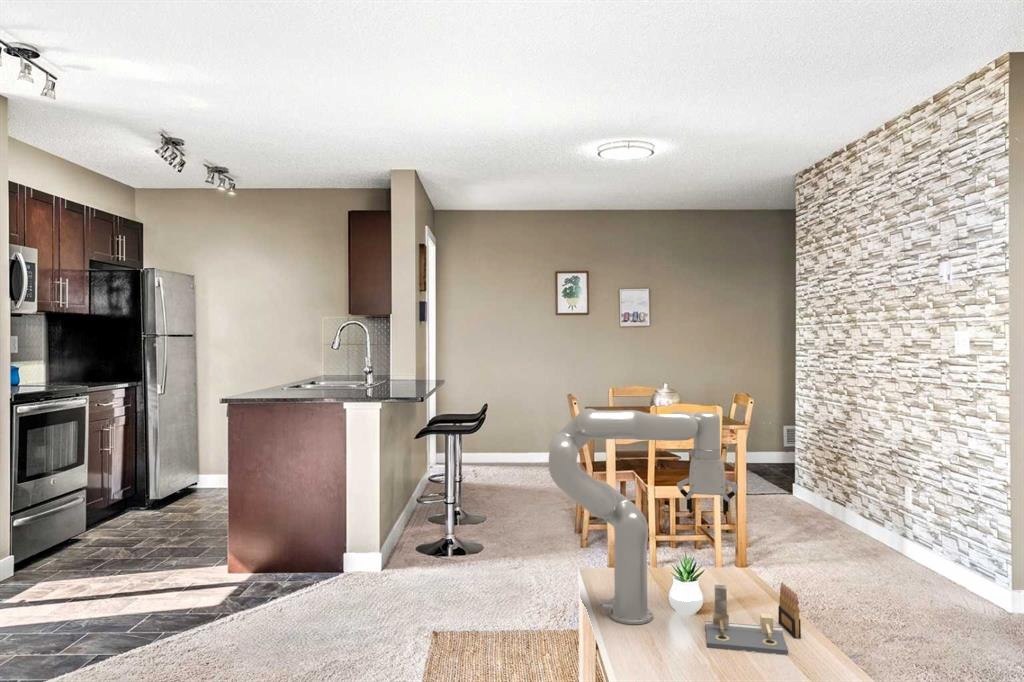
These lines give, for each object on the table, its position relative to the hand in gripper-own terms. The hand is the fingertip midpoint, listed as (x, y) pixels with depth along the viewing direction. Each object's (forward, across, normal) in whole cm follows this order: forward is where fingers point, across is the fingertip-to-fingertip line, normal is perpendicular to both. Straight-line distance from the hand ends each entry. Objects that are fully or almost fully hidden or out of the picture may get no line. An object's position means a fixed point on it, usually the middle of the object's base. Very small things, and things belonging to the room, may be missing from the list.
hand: (707, 513), depth 202 cm
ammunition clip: (+31, +22, -5) cm, 38 cm away
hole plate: (+30, +9, -14) cm, 35 cm away
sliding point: (+28, +3, -13) cm, 31 cm away
